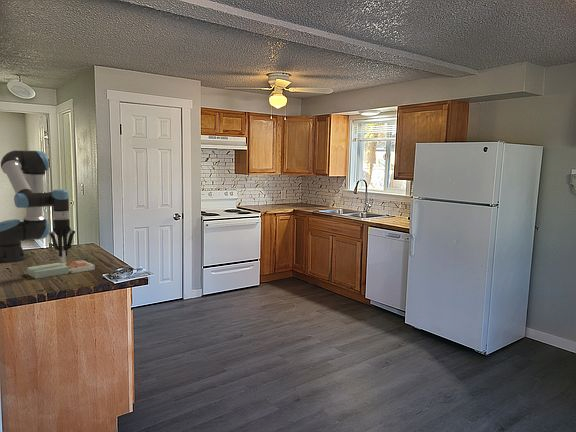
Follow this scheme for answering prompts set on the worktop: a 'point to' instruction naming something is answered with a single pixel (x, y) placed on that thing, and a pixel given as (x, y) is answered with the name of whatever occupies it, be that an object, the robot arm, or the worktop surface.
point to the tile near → (71, 263)
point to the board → (47, 270)
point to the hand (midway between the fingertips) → (63, 262)
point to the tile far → (80, 264)
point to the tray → (81, 268)
